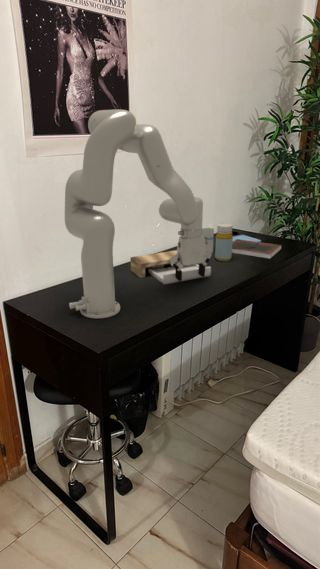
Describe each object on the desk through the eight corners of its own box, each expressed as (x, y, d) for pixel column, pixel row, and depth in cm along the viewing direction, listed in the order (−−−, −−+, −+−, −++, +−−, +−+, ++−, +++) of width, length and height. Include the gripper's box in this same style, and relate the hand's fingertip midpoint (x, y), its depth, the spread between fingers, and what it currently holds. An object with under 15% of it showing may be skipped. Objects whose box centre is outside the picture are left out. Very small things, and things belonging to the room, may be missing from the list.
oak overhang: (140, 277, 157) (140, 264, 155) (130, 270, 165) (130, 257, 163) (207, 266, 169) (207, 253, 167) (195, 259, 177) (195, 247, 175)
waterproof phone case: (261, 242, 203) (261, 240, 202) (244, 246, 197) (244, 244, 196) (242, 237, 213) (242, 234, 213) (224, 240, 207) (225, 238, 207)
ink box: (192, 247, 193) (192, 223, 189) (210, 247, 194) (211, 222, 189) (194, 253, 185) (195, 227, 181) (213, 253, 186) (214, 227, 181)
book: (223, 252, 188) (269, 259, 178) (223, 246, 187) (270, 254, 177) (236, 243, 201) (280, 250, 191) (237, 238, 200) (281, 244, 190)
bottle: (229, 262, 173) (231, 227, 168) (213, 260, 175) (215, 226, 170) (232, 257, 179) (234, 223, 174) (216, 256, 182) (218, 222, 176)
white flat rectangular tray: (164, 284, 150) (164, 275, 149) (148, 272, 162) (148, 264, 161) (210, 275, 159) (210, 267, 157) (192, 265, 170) (192, 257, 169)
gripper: (174, 238, 140) (174, 285, 146) (217, 232, 147) (215, 277, 153) (165, 233, 146) (165, 278, 152) (206, 227, 153) (204, 271, 159)
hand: (190, 277), depth 153 cm, fingers open, 9 cm apart
